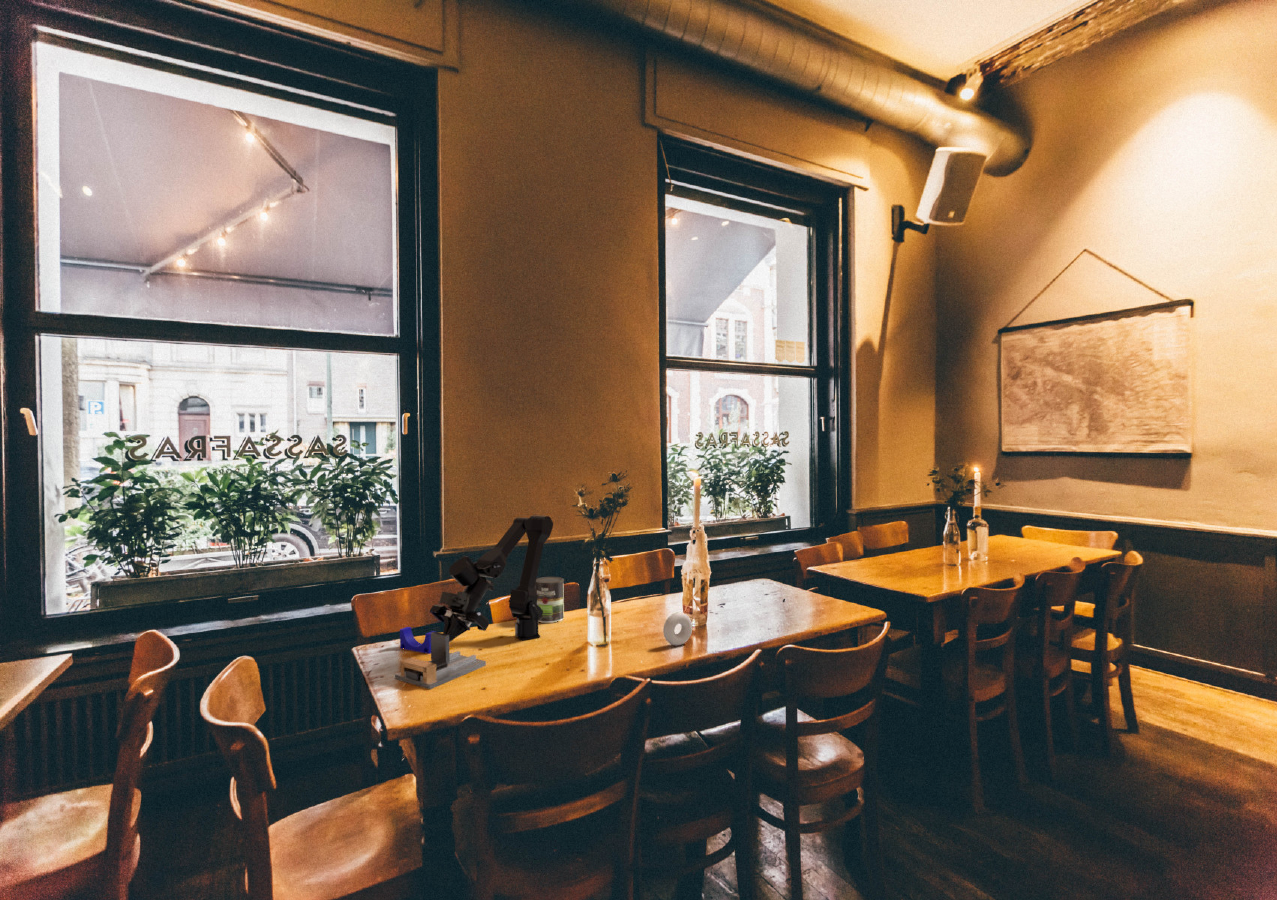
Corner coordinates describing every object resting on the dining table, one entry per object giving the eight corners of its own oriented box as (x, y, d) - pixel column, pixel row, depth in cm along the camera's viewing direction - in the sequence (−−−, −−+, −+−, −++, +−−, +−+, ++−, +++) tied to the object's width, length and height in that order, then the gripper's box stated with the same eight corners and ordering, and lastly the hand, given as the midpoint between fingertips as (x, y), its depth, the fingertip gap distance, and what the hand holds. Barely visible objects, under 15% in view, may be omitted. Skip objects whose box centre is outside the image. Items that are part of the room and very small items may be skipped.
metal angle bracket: (434, 664, 164) (434, 631, 164) (449, 668, 161) (449, 634, 161) (403, 676, 156) (403, 642, 156) (418, 680, 153) (418, 645, 153)
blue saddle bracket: (440, 649, 181) (440, 630, 181) (429, 654, 177) (429, 634, 177) (411, 644, 187) (411, 625, 187) (400, 649, 183) (399, 629, 183)
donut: (667, 649, 178) (666, 616, 177) (661, 646, 180) (660, 613, 180) (694, 643, 183) (694, 611, 182) (688, 640, 186) (687, 608, 185)
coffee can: (559, 624, 205) (558, 583, 205) (530, 623, 207) (530, 582, 207) (568, 615, 216) (567, 576, 216) (540, 614, 217) (540, 576, 217)
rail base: (451, 656, 174) (451, 639, 174) (485, 665, 167) (485, 647, 167) (394, 678, 158) (394, 660, 158) (430, 689, 151) (429, 669, 151)
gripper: (434, 576, 172) (402, 624, 163) (480, 583, 162) (448, 635, 153) (456, 597, 179) (426, 644, 170) (501, 605, 169) (472, 656, 160)
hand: (442, 644), depth 163 cm, fingers closed, pressing on metal angle bracket
